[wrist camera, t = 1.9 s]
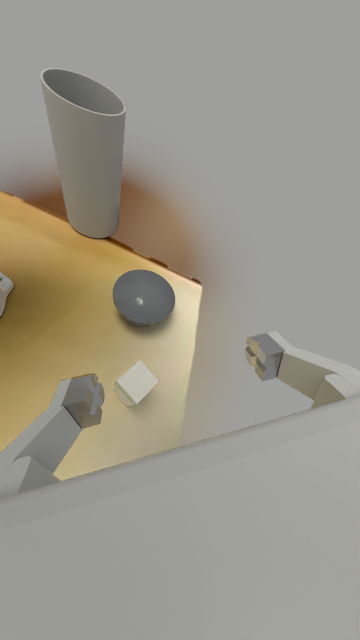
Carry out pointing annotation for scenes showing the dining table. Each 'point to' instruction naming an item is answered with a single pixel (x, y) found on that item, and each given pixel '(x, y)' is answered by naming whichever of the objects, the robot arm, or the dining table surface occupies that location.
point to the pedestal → (143, 297)
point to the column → (135, 384)
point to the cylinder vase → (86, 148)
